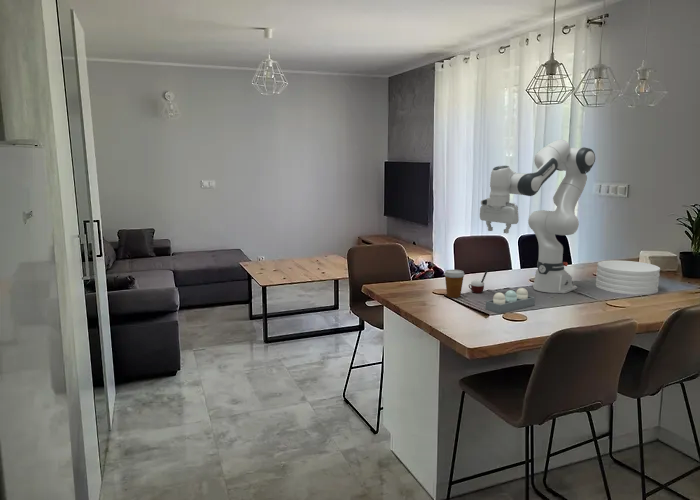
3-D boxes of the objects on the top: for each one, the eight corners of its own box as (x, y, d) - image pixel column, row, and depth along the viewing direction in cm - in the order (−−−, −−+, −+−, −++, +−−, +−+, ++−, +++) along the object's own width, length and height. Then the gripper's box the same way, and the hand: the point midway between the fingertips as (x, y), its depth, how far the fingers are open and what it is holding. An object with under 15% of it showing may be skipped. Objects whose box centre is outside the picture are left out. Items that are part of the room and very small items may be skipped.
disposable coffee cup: (448, 299, 250) (449, 274, 248) (440, 294, 260) (440, 270, 257) (467, 297, 253) (468, 272, 251) (458, 293, 262) (459, 268, 260)
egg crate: (519, 303, 243) (520, 293, 242) (534, 307, 237) (534, 297, 236) (485, 311, 231) (485, 301, 230) (499, 315, 225) (500, 305, 224)
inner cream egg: (520, 302, 241) (521, 286, 240) (529, 305, 237) (530, 288, 236) (512, 304, 238) (513, 287, 237) (522, 306, 234) (523, 290, 233)
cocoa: (466, 291, 266) (466, 268, 264) (476, 289, 269) (475, 266, 267) (480, 295, 258) (479, 270, 256) (490, 293, 261) (489, 268, 259)
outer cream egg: (498, 307, 233) (499, 290, 232) (507, 310, 229) (508, 293, 228) (490, 309, 231) (491, 292, 229) (499, 312, 226) (500, 294, 225)
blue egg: (509, 304, 237) (510, 288, 236) (518, 307, 233) (519, 290, 232) (501, 306, 234) (502, 289, 233) (511, 309, 230) (511, 292, 229)
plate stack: (643, 282, 284) (645, 260, 282) (668, 295, 257) (671, 272, 255) (588, 281, 287) (589, 259, 285) (607, 294, 260) (609, 271, 258)
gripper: (522, 203, 238) (520, 234, 241) (487, 200, 255) (486, 229, 258) (512, 203, 235) (511, 235, 237) (478, 200, 252) (476, 230, 254)
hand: (498, 232), depth 248 cm, fingers open, 8 cm apart
